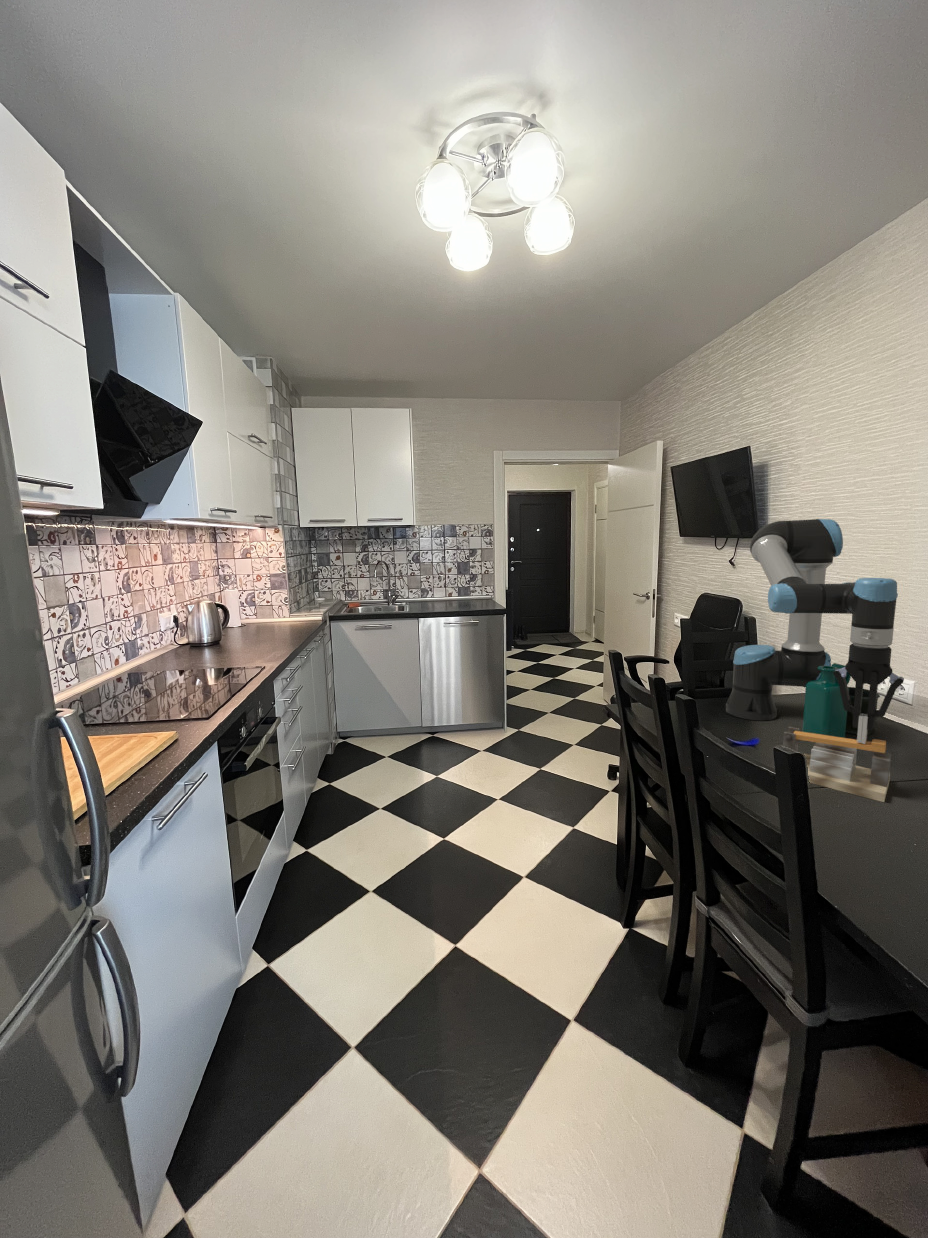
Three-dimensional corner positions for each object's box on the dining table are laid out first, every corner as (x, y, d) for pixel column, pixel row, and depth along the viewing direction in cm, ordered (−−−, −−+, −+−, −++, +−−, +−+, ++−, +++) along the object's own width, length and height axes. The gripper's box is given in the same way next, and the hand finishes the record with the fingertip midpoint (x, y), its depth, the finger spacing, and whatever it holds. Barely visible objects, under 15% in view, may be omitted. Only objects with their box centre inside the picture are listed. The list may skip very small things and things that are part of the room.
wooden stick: (792, 738, 125) (792, 731, 125) (795, 735, 127) (795, 727, 127) (884, 753, 112) (884, 744, 112) (886, 749, 114) (886, 740, 114)
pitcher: (824, 745, 140) (830, 671, 136) (798, 734, 148) (803, 664, 145) (852, 741, 142) (858, 668, 138) (825, 730, 150) (830, 661, 147)
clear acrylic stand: (776, 773, 124) (778, 736, 123) (788, 757, 133) (791, 722, 132) (884, 802, 110) (888, 760, 108) (889, 781, 119) (893, 742, 117)
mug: (838, 734, 147) (841, 696, 145) (822, 717, 160) (825, 682, 159) (883, 738, 143) (886, 699, 141) (863, 721, 157) (866, 685, 155)
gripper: (832, 644, 115) (825, 739, 118) (907, 651, 105) (896, 754, 109) (837, 639, 120) (830, 730, 123) (909, 645, 111) (899, 743, 114)
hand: (861, 741), depth 116 cm, fingers closed
